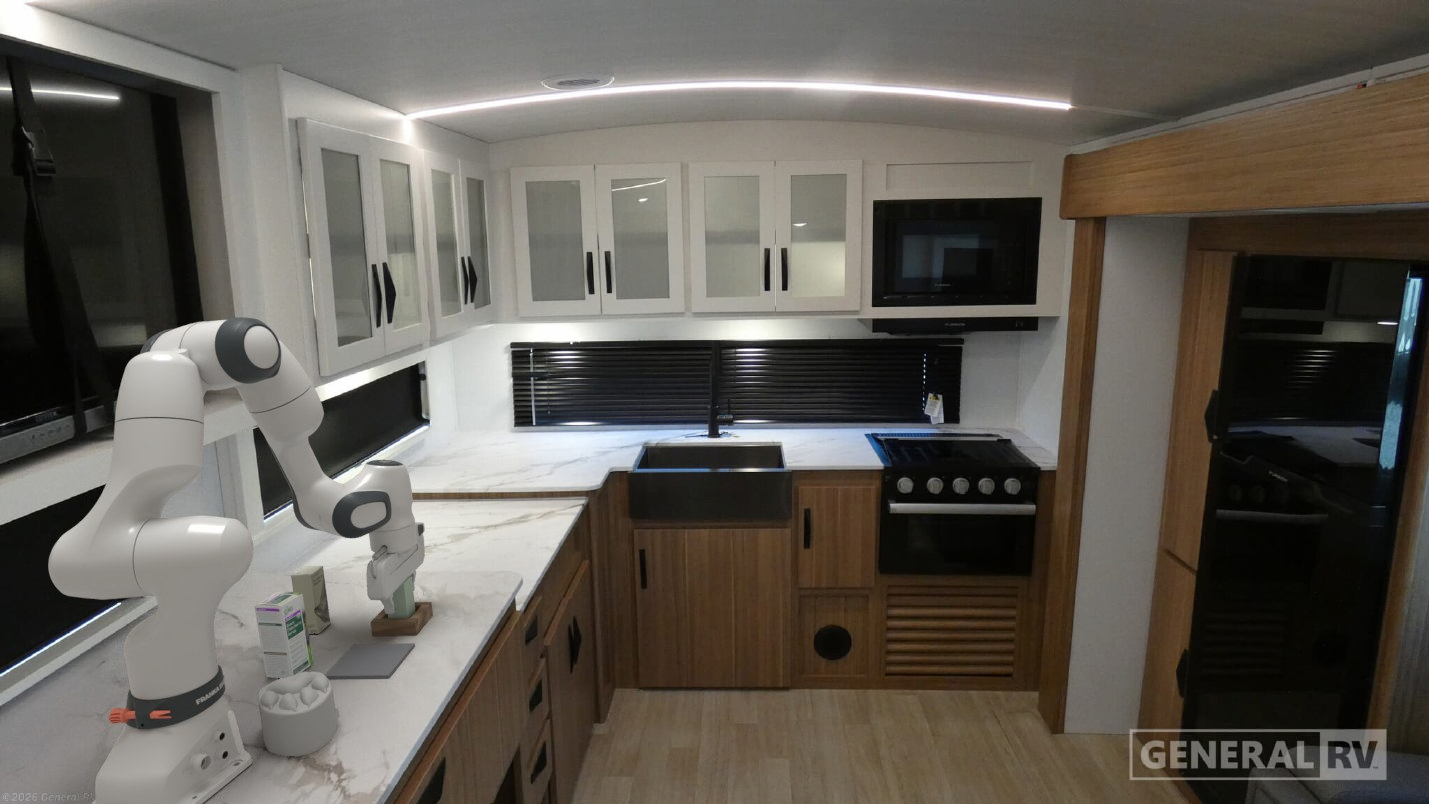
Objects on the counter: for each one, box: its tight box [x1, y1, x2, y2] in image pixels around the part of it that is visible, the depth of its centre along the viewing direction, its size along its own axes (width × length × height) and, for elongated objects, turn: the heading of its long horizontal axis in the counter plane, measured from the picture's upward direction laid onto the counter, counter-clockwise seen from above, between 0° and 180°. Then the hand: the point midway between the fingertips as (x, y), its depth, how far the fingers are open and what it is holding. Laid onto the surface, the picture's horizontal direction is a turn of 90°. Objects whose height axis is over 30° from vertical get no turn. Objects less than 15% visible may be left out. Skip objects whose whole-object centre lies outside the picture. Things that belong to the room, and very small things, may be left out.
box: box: [290, 565, 331, 635], centre depth 169 cm, size 5×4×13 cm
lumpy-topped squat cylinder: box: [257, 671, 338, 758], centre depth 132 cm, size 10×13×9 cm
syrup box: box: [253, 591, 314, 679], centre depth 152 cm, size 6×6×14 cm
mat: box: [324, 642, 416, 680], centre depth 155 cm, size 12×12×1 cm
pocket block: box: [370, 601, 434, 637], centre depth 170 cm, size 9×9×3 cm
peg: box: [388, 576, 416, 618], centre depth 169 cm, size 4×4×10 cm
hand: (400, 602), depth 169 cm, fingers open, 8 cm apart
